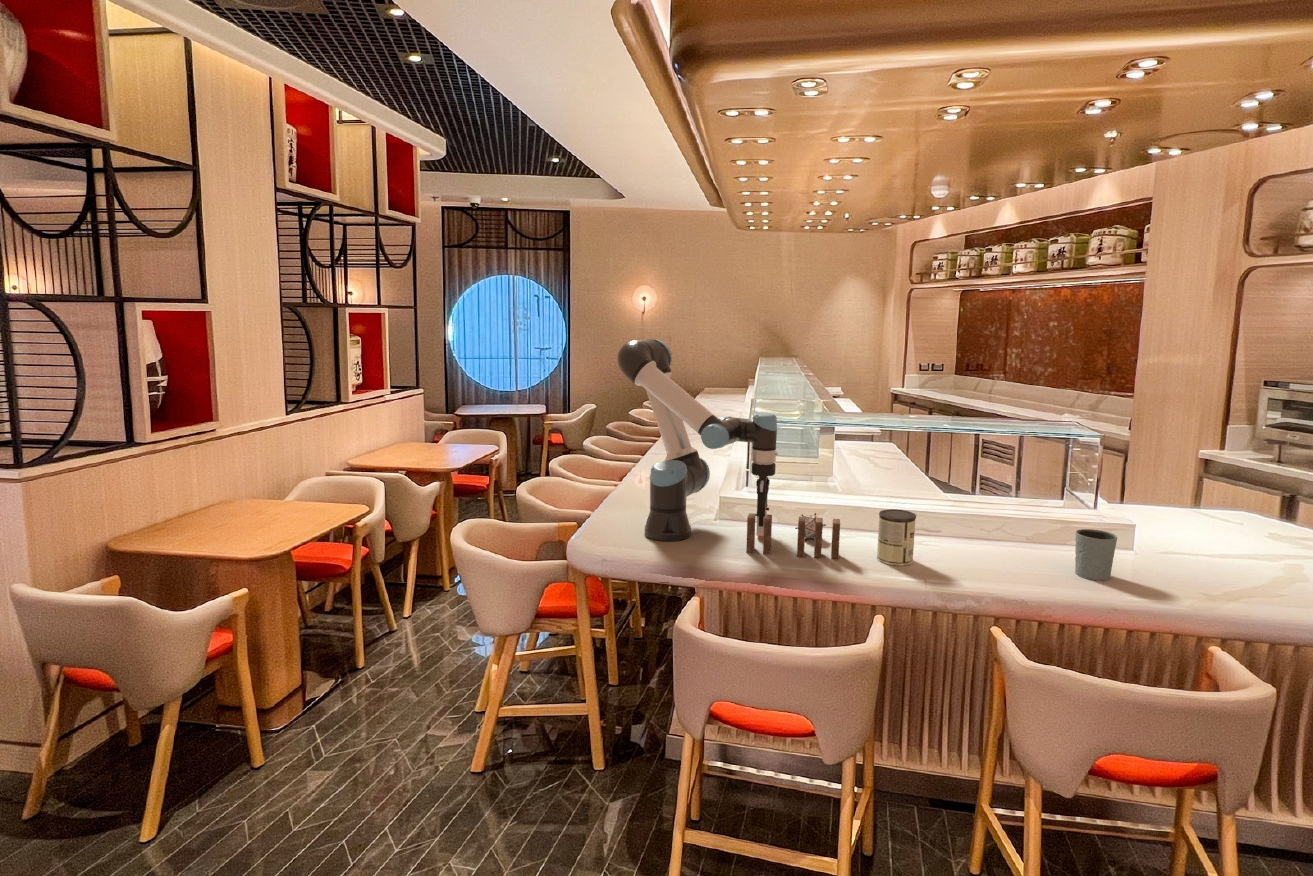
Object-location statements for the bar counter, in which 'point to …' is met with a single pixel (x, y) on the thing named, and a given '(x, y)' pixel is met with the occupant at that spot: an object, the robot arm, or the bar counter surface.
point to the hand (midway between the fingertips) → (761, 532)
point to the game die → (810, 526)
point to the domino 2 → (762, 536)
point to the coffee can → (896, 537)
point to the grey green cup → (1094, 554)
